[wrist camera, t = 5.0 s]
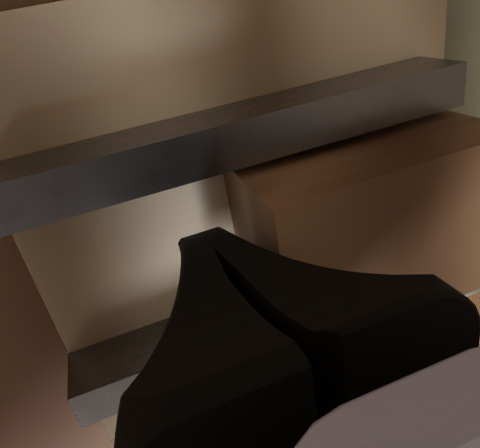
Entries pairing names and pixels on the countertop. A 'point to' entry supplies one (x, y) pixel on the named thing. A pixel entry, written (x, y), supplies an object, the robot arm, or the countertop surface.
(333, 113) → the channel rails
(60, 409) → the countertop surface
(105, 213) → the chute board
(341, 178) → the walnut block
